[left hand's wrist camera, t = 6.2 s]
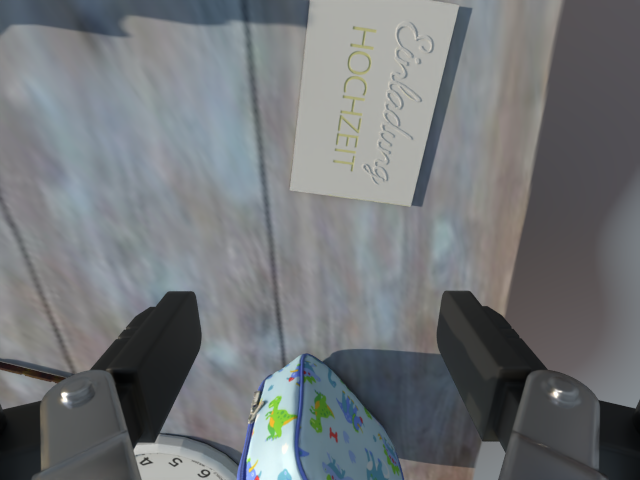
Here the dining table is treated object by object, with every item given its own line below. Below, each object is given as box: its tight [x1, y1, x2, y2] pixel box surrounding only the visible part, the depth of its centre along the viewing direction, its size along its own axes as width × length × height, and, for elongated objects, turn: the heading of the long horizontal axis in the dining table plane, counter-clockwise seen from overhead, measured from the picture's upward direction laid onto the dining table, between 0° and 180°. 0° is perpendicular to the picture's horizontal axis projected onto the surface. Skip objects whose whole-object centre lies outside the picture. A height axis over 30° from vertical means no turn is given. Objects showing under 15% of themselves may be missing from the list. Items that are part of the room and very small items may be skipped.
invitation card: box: [290, 0, 459, 206], centre depth 39 cm, size 21×1×15 cm
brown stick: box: [0, 362, 66, 383], centre depth 52 cm, size 15×1×1 cm, turn 71°
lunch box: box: [237, 354, 404, 480], centre depth 46 cm, size 26×11×21 cm, turn 37°
